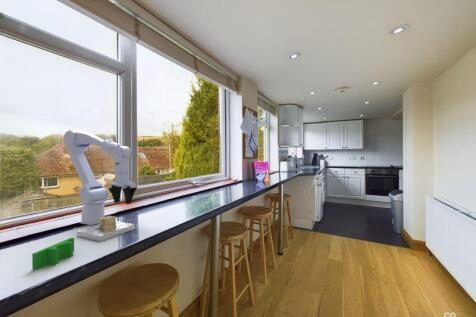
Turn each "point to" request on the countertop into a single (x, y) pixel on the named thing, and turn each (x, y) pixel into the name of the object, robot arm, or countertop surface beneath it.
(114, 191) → the robot arm
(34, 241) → the countertop surface
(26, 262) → the countertop surface
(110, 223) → the maple wedge
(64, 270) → the countertop surface
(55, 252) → the green boxy piece
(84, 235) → the grey square plate
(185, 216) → the countertop surface
